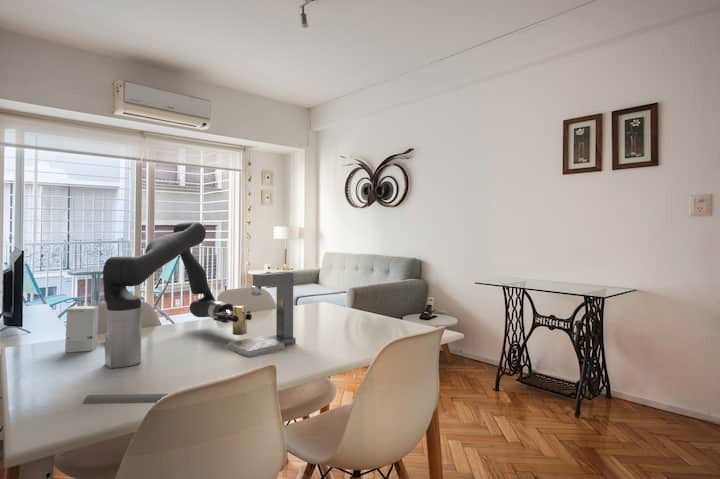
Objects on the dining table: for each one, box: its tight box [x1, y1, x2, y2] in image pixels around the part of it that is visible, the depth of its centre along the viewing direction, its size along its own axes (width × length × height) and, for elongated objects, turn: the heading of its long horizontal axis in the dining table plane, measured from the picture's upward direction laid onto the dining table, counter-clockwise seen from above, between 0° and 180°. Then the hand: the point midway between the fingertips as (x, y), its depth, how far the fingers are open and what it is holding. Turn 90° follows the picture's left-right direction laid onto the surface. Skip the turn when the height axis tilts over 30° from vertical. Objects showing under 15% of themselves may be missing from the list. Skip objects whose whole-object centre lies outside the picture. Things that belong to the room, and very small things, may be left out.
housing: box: [232, 304, 248, 336], centre depth 154 cm, size 5×5×10 cm
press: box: [227, 271, 297, 358], centre depth 150 cm, size 21×20×26 cm
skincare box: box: [64, 305, 99, 353], centre depth 143 cm, size 8×6×15 cm
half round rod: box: [83, 393, 169, 405], centre depth 101 cm, size 4×20×2 cm, turn 93°
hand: (243, 318), depth 152 cm, fingers closed on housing, 5 cm apart
